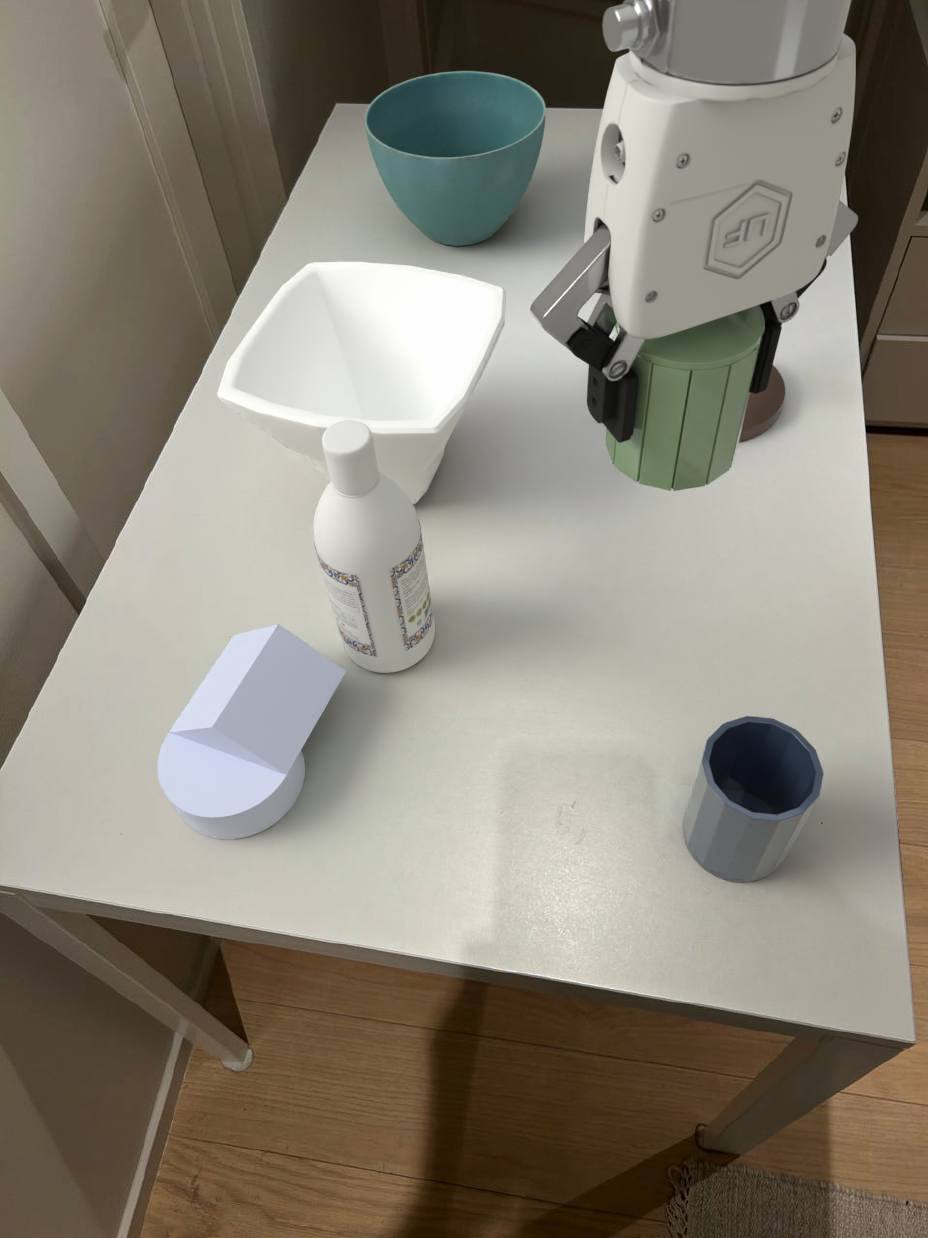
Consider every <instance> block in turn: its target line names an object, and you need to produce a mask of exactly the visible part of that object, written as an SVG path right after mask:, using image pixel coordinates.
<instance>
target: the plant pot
mask: <svg viewBox="0 0 928 1238" xmlns="http://www.w3.org/2000/svg"><path fill="white" fill-rule="evenodd" d="M546 115H547V106H546V102H545V100H544V98H543V97H542V95H541V94H540V93H539V92H538V90H536V89H535V88H533V86H531V85H529V84H527V83H526V82H523V81H521V80H519V79H517V78H515V77H511V76H508V75H504V74H499V73H495V72H488V71H487V72H486V71H476V70H456V71H444V72H436V73H433V74H432V73H430V74H426V75H421V76H417V77H413V78H410V79H408V80H404V81H401V82H400V83H397V84H395V85H393V86H391V87H389V88H388V89H386V90H384V91H383V92H381V93H380V94H379V95H377V96H376V97H375V98H374V99H373V100H372V101H371V102H370V104H369V105H368V107H367V108H366V110H365V113H364V118H363V119H364V122H363V123H364V128H365V133H366V138H367V142H368V145H369V149H370V153H371V156H372V158H373V161H374V164H375V166H376V169H377V172H378V174H379V176H380V178H381V180H382V183H383V184H384V185H383V186H384V187H385V188H386V190H387V192H388V194H389V196H390V198H391V199H392V200H393V202H394V203H395V205H396V206H397V208H399V211H401V213H402V214H403V215H404V216H405V217H406V219H408V220H409V221H410V222H411V224H413V226H415V227H416V228H417V229H418V230H419V231H420V232H421V233H422V234H424V235H425V236H426V237H428V238H429V239H430V240H432V241H434V242H436V243H437V244H438V243H439V244H442V245H445V246H452V247H453V246H454V247H463V246H470V245H476V244H479V243H482V242H484V241H485V240H488V239H489V238H491V237H492V236H494V235H495V234H496V233H497V232H498V231H499V230H500V229H501V227H502V226H503V225H504V224H505V223H506V222H507V221H508V220H509V218H510V217H511V215H512V214H513V213H514V212H515V210H516V208H517V207H518V206H519V204H520V202H521V200H522V199H523V198H524V196H525V194H526V192H527V190H528V187H529V186H530V183H531V180H532V177H533V176H534V173H535V171H536V167H537V164H538V161H539V157H540V153H541V149H542V146H543V145H542V144H543V140H544V135H545V134H544V132H545V127H546V118H547V117H546Z"/></svg>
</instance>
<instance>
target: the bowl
mask: <svg viewBox="0 0 928 1238" xmlns="http://www.w3.org/2000/svg"><path fill="white" fill-rule="evenodd" d="M506 302H507V290H506V289H504V288H503V287H501V286H499V285H495V284H493V283H489V282H485V281H482V280H479V279H475V278H473V277H469V276H466V275H462V274H457V273H451V272H446V271H440V270H435V269H430V268H424V267H419V266H414V265H407V264H397V263H395V264H394V263H393V264H392V263H381V262H379V263H378V262H366V261H321V262H320V261H317V262H315V261H313V262H309V263H307V264H306V265H305V266H303V268H301V269H300V270H299V271H297V272H296V274H294V275H293V276H292V277H291V278H289V279H288V280H287V281H286V282H285V283H283V284H282V285H281V286H280V288H279V289H278V290H277V292H276V293H275V294H274V296H273V297H272V298H271V299H270V301H269V303H267V305H266V306H265V307H264V309H263V311H262V312H261V313H260V315H259V316H258V317H257V319H256V320H255V321H254V323H253V324H252V326H251V327H250V328H249V330H248V331H247V333H246V334H245V336H244V337H243V339H242V340H241V342H240V343H239V345H238V346H237V347H236V348H235V350H234V352H233V353H232V355H231V356H230V358H229V359H228V360H227V362H226V366H225V369H224V372H223V374H222V376H221V377H222V378H221V381H220V385H219V386H218V390H217V397H218V400H219V401H221V403H223V404H224V405H226V406H227V407H229V408H230V409H232V410H233V411H234V412H235V413H237V414H239V415H240V416H242V417H243V418H244V419H246V421H249V422H250V423H251V424H253V425H254V426H255V427H257V428H258V429H259V430H261V431H262V432H264V433H265V434H267V435H268V436H270V437H271V438H272V439H274V440H275V441H277V442H278V443H280V444H281V445H282V446H284V447H285V448H287V449H289V450H292V451H294V452H297V453H299V454H302V455H304V456H306V457H308V458H309V459H310V460H311V462H312V464H313V465H314V466H315V467H316V468H317V470H318V471H319V472H320V474H321V475H322V476H323V478H324V479H325V480H326V482H327V483H328V484H329V483H330V481H331V478H330V474H329V470H328V466H327V462H326V458H325V454H324V450H323V446H322V436H323V434H324V432H325V431H326V429H327V428H328V427H330V426H331V425H333V424H335V423H337V422H340V421H344V420H355V421H359V422H362V423H364V424H365V425H366V426H368V428H369V429H370V431H371V433H372V438H373V443H374V449H375V454H376V459H377V465H378V471H379V472H381V473H382V474H384V475H385V476H387V477H388V478H390V479H391V480H393V481H394V482H395V483H396V484H397V485H398V486H400V488H401V489H402V490H403V491H404V492H405V493H406V494H407V496H408V497H409V499H410V500H411V502H412V504H413V505H416V504H417V503H418V502H419V501H420V500H421V498H422V497H423V496H424V495H425V493H427V491H428V489H429V487H430V485H431V483H432V481H433V479H434V477H435V476H436V475H435V474H436V473H437V470H438V468H439V467H440V464H441V461H442V459H443V457H444V455H445V451H446V450H445V449H446V446H447V442H448V441H449V439H450V437H451V435H452V433H453V432H454V430H455V428H456V426H457V424H458V423H459V421H460V419H461V417H462V415H463V413H464V412H465V410H466V408H467V407H468V405H469V403H470V400H471V398H472V397H473V394H474V392H475V390H476V388H477V386H478V384H479V381H480V379H481V377H482V375H483V373H484V371H485V369H486V368H487V365H488V363H489V362H490V358H491V356H492V354H493V352H494V349H495V347H496V345H497V343H498V340H499V337H500V335H501V333H502V331H503V329H504V326H505V323H506V305H507V303H506Z"/></svg>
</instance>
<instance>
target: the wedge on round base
mask: <svg viewBox="0 0 928 1238" xmlns="http://www.w3.org/2000/svg"><path fill="white" fill-rule="evenodd" d="M346 672H347V670H346V669H345V668H344V667H342V666H340V665H339V664H337V663H336V662H334V661H333V660H331V659H330V658H329V657H327V656H326V655H324V654H322V653H321V652H320V651H318V649H315V648H314V647H313V646H312V645H310V644H308V642H305V641H304V640H303V639H301V638H300V637H298V636H297V635H295V634H294V633H292V631H290V630H288V629H287V628H285V627H283V626H282V625H281V624H280V623H277V624H272V625H269V626H264V627H260V628H256V629H252V630H249V631H244V632H240V633H236V634H234V635H232V637H231V639H230V640H229V642H228V643H227V645H225V647H224V649H223V651H222V652H221V654H220V655H219V657H217V659H216V661H215V662H214V664H213V665H212V667H211V668H210V670H209V671H208V672H207V674H206V676H205V677H204V679H203V681H202V682H201V683H200V685H199V686H198V688H197V689H196V691H195V692H194V694H193V695H192V696H191V698H190V700H189V701H188V703H187V704H186V705H185V707H184V709H183V710H182V712H181V713H180V714H179V716H178V717H177V719H176V721H174V724H173V725H172V727H171V728H170V729H169V731H168V733H167V734H166V736H165V738H164V739H163V742H162V744H161V746H160V749H159V751H158V752H159V753H158V756H157V764H156V772H157V778H158V779H157V780H158V782H159V783H158V784H159V785H160V788H161V790H162V791H163V793H164V795H165V796H166V798H167V799H168V800H169V803H171V805H172V806H173V808H174V809H175V810H176V812H177V814H178V815H179V816H180V818H181V819H182V820H183V822H184V823H185V824H186V825H187V826H188V827H190V828H191V829H192V830H193V831H195V832H197V833H198V834H200V835H203V836H206V837H208V838H211V839H218V840H225V841H226V840H227V841H228V840H239V839H244V838H247V837H251V836H255V835H257V834H259V833H262V832H265V830H267V829H269V828H270V827H272V826H274V825H275V824H276V823H278V822H279V821H280V820H281V819H282V818H284V816H286V815H287V814H288V812H289V811H290V810H291V809H292V808H293V806H294V805H295V803H296V801H297V800H298V799H299V796H300V794H301V792H302V789H303V786H304V783H305V777H306V762H305V761H306V760H305V757H304V753H303V750H302V749H303V748H304V746H305V744H306V742H307V740H308V738H309V737H310V736H311V733H312V731H313V729H314V728H315V726H316V725H317V723H318V722H319V719H320V717H321V715H322V714H323V712H324V711H325V709H326V708H327V705H328V703H329V702H330V701H331V698H332V697H333V695H334V693H335V691H336V689H337V688H338V687H339V684H340V682H341V681H342V679H343V677H344V675H345V674H346Z"/></svg>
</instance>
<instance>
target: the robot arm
mask: <svg viewBox="0 0 928 1238" xmlns="http://www.w3.org/2000/svg"><path fill="white" fill-rule="evenodd" d="M851 4H852V0H623V1H622V4H618V5H614V6H611V7H608V8H606V10H605V11H604V14H603V16H602V26H601V27H602V36H603V39H604V43H605V45H606V47H607V49H608V50H609V51H611V52H615V53H616V52H619V51H623V50H626V49H627V50H628V52H626V53H625V54H623V55H620V56H619V57H617V58H616V59H615V62H614V66H613V70H612V73H611V77H610V80H609V84H608V88H607V91H606V95H605V99H604V104H603V107H602V112H601V118H600V121H599V125H598V132H597V135H596V141H595V146H594V151H593V159H592V166H591V171H590V173H591V174H590V179H589V187H588V193H587V195H588V196H587V202H586V212H585V224H584V236H583V245H582V246H581V247H580V248H579V249H578V251H577V252H576V253H575V254H574V255H573V256H572V257H571V258H570V260H569V261H568V262H567V263H566V264H565V265H564V266H563V268H561V270H559V272H558V273H557V274H556V275H555V276H554V278H553V279H552V280H551V281H550V282H549V283H548V284H547V286H545V288H544V289H543V290H542V291H541V292H540V293H539V295H538V296H537V297H535V299H534V300H533V302H532V303H531V305H530V309H529V312H530V314H531V315H532V317H533V318H534V319H535V320H536V322H537V323H538V324H539V325H540V326H541V328H542V329H543V330H544V331H545V332H546V333H547V334H548V335H550V336H551V337H552V338H553V339H555V341H557V342H558V343H559V344H561V345H562V346H564V347H565V348H566V349H567V350H568V351H570V352H571V353H572V354H573V355H574V356H575V358H577V359H579V360H581V362H585V364H587V365H588V371H587V388H586V406H587V409H588V412H589V415H590V416H591V417H592V418H593V420H594V421H595V422H596V423H597V424H603V426H604V427H605V429H606V428H607V429H608V430H609V432H610V433H611V434H612V435H613V437H614V438H615V439H616V440H617V441H618V442H619V443H621V442H624V441H627V440H630V438H631V436H632V435H633V431H634V422H635V413H636V404H637V395H638V386H639V378H638V376H637V374H636V373H635V372H634V370H633V369H632V368H631V365H632V364H633V362H634V360H635V358H636V356H637V355H638V353H639V351H640V349H641V348H642V346H643V344H644V342H645V340H646V339H654V338H659V337H663V336H667V335H670V334H673V333H677V332H680V331H683V330H686V329H689V328H692V327H695V326H698V325H701V324H704V323H707V322H710V321H713V320H716V319H719V318H722V317H725V316H728V315H730V314H733V313H736V312H739V311H742V310H745V309H748V308H751V307H754V306H757V305H759V306H760V307H761V310H762V312H763V315H764V319H765V326H764V327H765V330H764V335H763V339H762V343H761V348H760V352H759V356H758V361H757V365H756V369H755V373H754V378H753V382H752V386H751V391H750V392H751V393H752V392H753V393H754V394H757V393H760V392H763V391H765V390H766V389H767V386H768V382H769V378H770V374H771V370H772V365H774V360H775V358H776V353H777V349H778V345H779V340H780V337H781V334H782V330H783V329H782V328H783V327H782V325H783V323H784V324H785V323H787V322H789V321H791V320H792V319H793V318H794V317H795V316H796V315H797V313H798V312H799V310H800V307H801V306H800V301H799V299H800V297H802V295H803V294H804V293H805V292H806V291H807V290H808V289H809V288H810V286H811V285H812V284H813V283H814V282H815V281H816V280H817V279H818V278H819V277H820V276H821V274H822V273H823V272H824V271H825V269H826V267H827V264H828V259H827V258H828V257H832V256H833V254H835V252H836V251H837V250H838V248H840V246H841V245H842V243H844V241H845V240H846V239H847V237H849V235H851V233H852V232H853V230H854V229H855V228H856V226H857V224H858V222H859V216H858V214H857V213H855V212H854V211H853V210H852V209H851V208H850V207H848V206H847V205H846V204H845V203H844V202H842V201H841V200H840V199H841V194H842V190H843V189H842V188H843V183H844V178H845V173H846V169H847V163H848V157H849V150H850V143H851V137H852V128H853V122H854V121H853V120H854V113H855V112H854V111H855V99H856V98H855V97H856V96H855V95H856V76H857V75H856V72H857V71H856V69H857V67H856V64H857V63H856V57H857V56H856V55H857V51H856V50H857V49H856V44H855V42H854V40H853V39H852V38H851V37H850V36H848V35H847V34H846V33H844V32H845V28H846V24H847V20H848V16H849V11H850V8H851ZM594 294H600V296H599V297H598V300H597V302H596V304H595V306H594V307H593V310H592V311H591V314H590V316H589V318H588V319H587V321H586V320H584V319H583V318H581V317H580V316H578V315H579V312H580V311H581V309H582V308H583V306H585V305H586V303H588V301H589V300H590V299H591V298H592V297H593V296H594ZM617 322H618V324H619V325H620V326H621V327H622V328H621V330H620V332H619V333H618V335H617V337H616V339H615V341H614V340H613V338H611V337H610V336H611V334H612V333H613V331H614V327H615V325H616V323H617Z"/></svg>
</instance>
